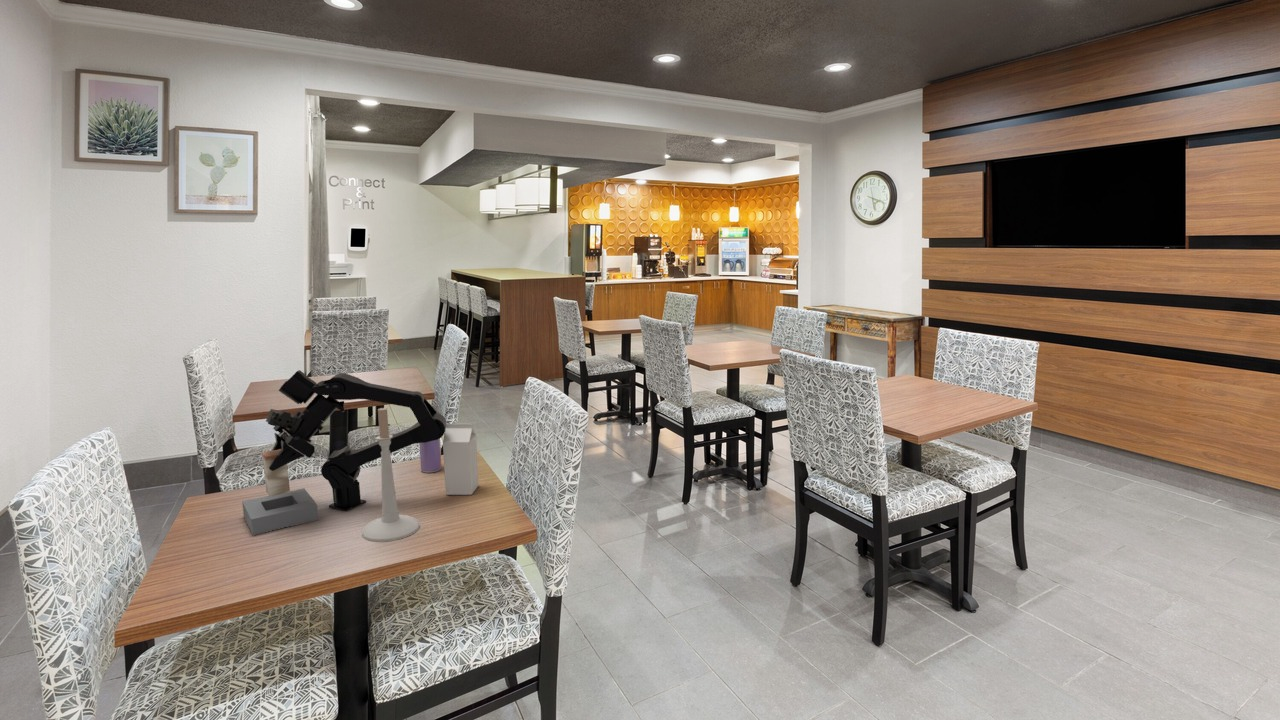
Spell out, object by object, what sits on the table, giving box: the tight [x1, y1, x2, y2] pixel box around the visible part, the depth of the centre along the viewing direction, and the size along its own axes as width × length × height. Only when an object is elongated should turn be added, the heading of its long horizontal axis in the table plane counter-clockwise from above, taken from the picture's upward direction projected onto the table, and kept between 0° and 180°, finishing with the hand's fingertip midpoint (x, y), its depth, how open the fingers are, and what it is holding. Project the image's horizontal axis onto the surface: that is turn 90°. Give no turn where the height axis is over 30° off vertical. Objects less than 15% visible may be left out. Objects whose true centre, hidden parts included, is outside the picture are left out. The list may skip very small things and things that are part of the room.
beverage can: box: [418, 438, 442, 474], centre depth 192 cm, size 6×6×15 cm
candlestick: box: [361, 407, 421, 542], centre depth 149 cm, size 13×13×30 cm
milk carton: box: [442, 423, 479, 496], centre depth 175 cm, size 7×7×19 cm
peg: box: [261, 449, 291, 496], centre depth 156 cm, size 4×4×10 cm
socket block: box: [242, 488, 319, 536], centre depth 158 cm, size 14×14×4 cm
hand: (268, 467), depth 155 cm, fingers closed on peg, 4 cm apart
